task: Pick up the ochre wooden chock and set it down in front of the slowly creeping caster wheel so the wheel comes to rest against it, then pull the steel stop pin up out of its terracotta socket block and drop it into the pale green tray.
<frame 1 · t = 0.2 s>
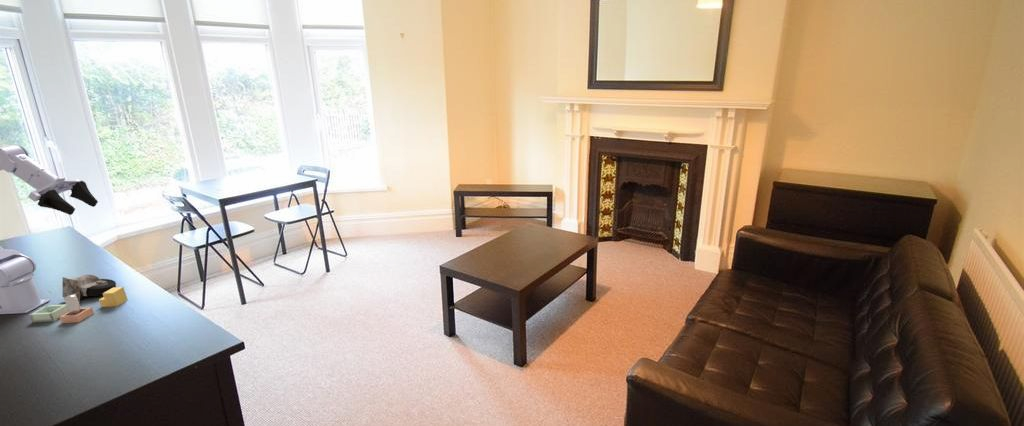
hand: (84, 208, 136), 31 cm above the table, tool tilted 45°, fingers open, 7 cm apart
tray: (52, 316, 138), on the table
stop pin: (74, 307, 136), in the socket block
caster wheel: (94, 295, 152), on the table
chock: (114, 303, 145), on the table
socket block: (78, 318, 137), on the table
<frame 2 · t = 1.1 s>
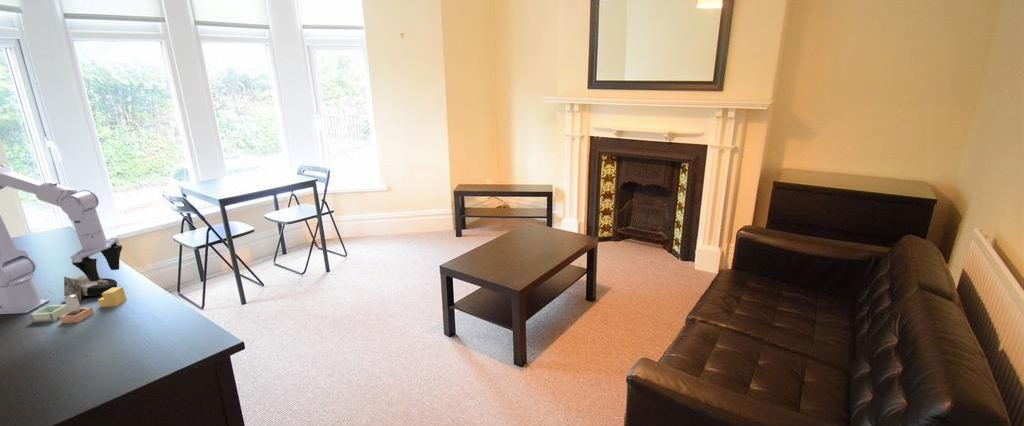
hand: (105, 274, 142), 10 cm above the table, tool pointing down, fingers open, 7 cm apart
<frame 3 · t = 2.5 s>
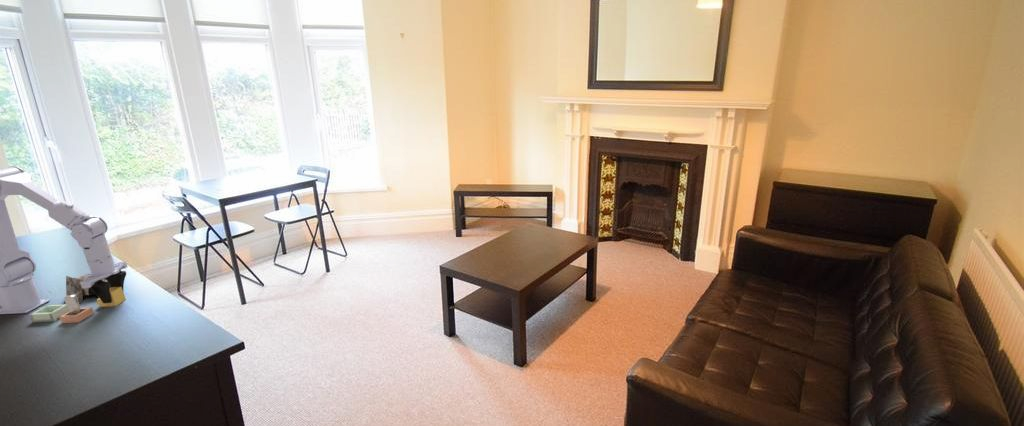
hand: (113, 298, 144), 1 cm above the table, tool pointing down, fingers closed on chock, 4 cm apart
chock: (112, 303, 145), on the table, touching gripper
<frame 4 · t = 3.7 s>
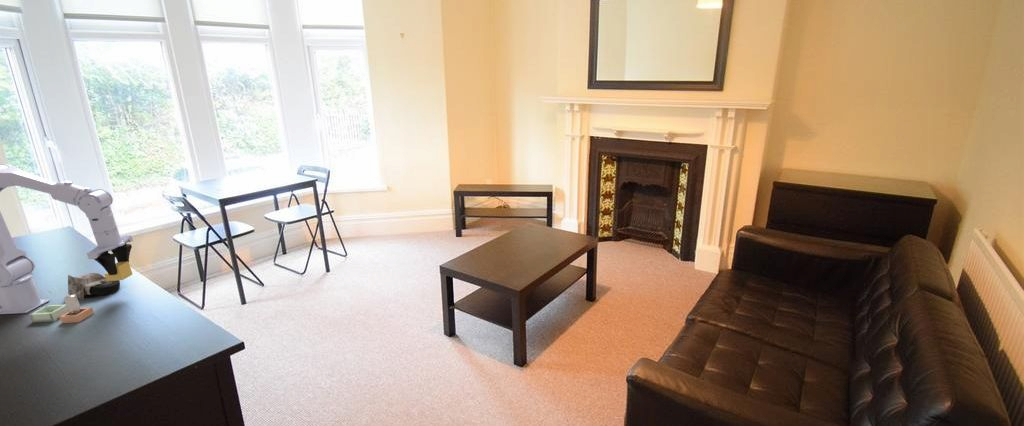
hand: (119, 271, 147), 8 cm above the table, tool pointing down, fingers closed on chock, 4 cm apart
chock: (120, 277, 148), point 6 cm above the table, touching gripper
when the fingers open (3 cm above the table, at t = 5.3 s): chock stays where it is, on the table.
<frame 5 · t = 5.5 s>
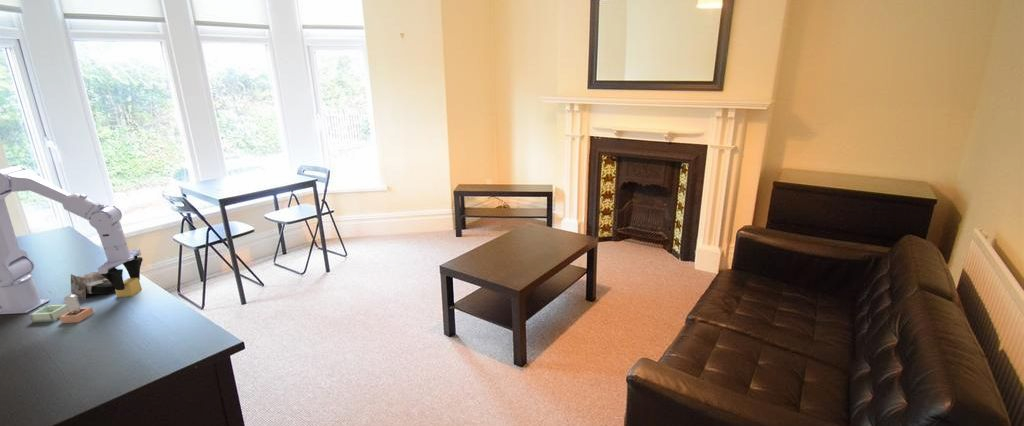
hand: (128, 284, 150), 3 cm above the table, tool pointing down, fingers open, 6 cm apart
chock: (129, 293, 151), on the table
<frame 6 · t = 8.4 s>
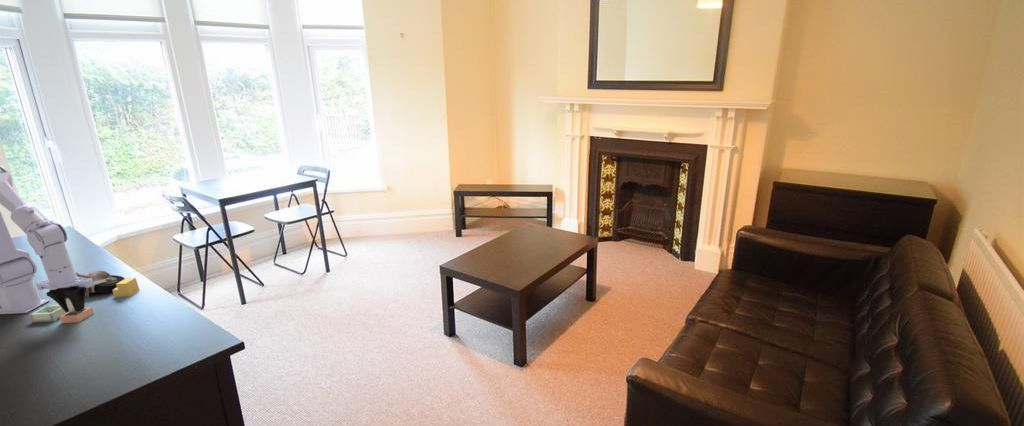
hand: (75, 310, 136), 3 cm above the table, tool pointing down, fingers closed on stop pin, 3 cm apart
stop pin: (74, 307, 136), in the socket block, touching gripper
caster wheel: (105, 291, 154), on the table
everything else where it was.
when the fingers open (5 cm above the table, at t = 11.6 s): stop pin drops 1 cm, resting on tray.
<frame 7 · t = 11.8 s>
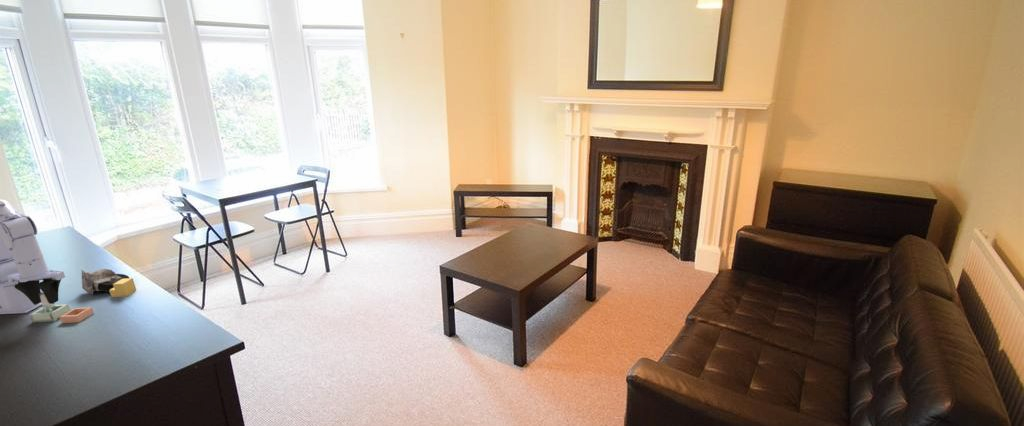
hand: (46, 302, 137), 5 cm above the table, tool pointing down, fingers open, 4 cm apart
stop pin: (48, 303, 137), in the tray, point 4 cm above the table
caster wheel: (110, 289, 155), on the table
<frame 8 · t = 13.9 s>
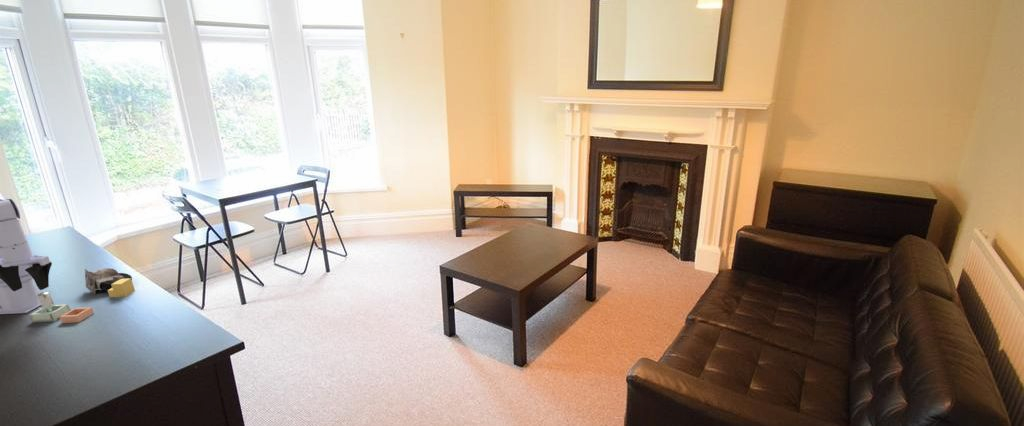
hand: (31, 288, 133), 10 cm above the table, tool pointing down, fingers open, 7 cm apart
at the end: chock inside the target area (1.2 cm from its centre), on the table; chock 8.9 cm from the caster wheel (horizontally); stop pin 0.0 cm off-centre on the tray, point 4.1 cm above the tray's base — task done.
